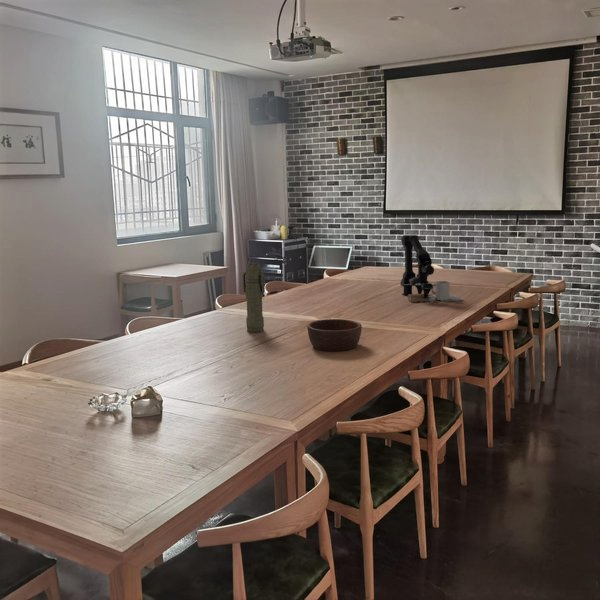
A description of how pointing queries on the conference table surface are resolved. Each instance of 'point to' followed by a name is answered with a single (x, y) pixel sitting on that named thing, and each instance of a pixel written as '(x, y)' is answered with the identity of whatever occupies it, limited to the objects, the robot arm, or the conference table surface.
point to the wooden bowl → (334, 334)
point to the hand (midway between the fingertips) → (422, 297)
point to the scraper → (420, 298)
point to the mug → (442, 290)
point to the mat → (452, 299)
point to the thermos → (254, 297)
